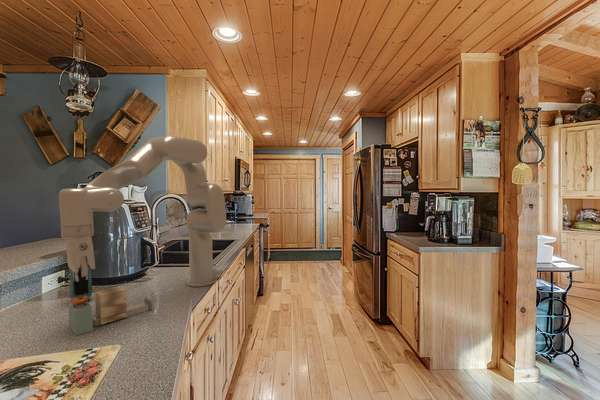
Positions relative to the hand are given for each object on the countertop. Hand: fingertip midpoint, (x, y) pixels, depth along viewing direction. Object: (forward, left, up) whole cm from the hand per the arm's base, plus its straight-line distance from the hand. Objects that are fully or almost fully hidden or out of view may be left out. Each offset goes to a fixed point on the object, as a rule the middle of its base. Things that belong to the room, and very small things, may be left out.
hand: (81, 293), depth 88 cm
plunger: (0, 0, -7) cm, 7 cm away
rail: (-10, 0, -10) cm, 15 cm away
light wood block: (-7, 0, -10) cm, 12 cm away
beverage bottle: (-5, -25, -11) cm, 27 cm away
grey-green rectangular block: (0, 0, -10) cm, 10 cm away
